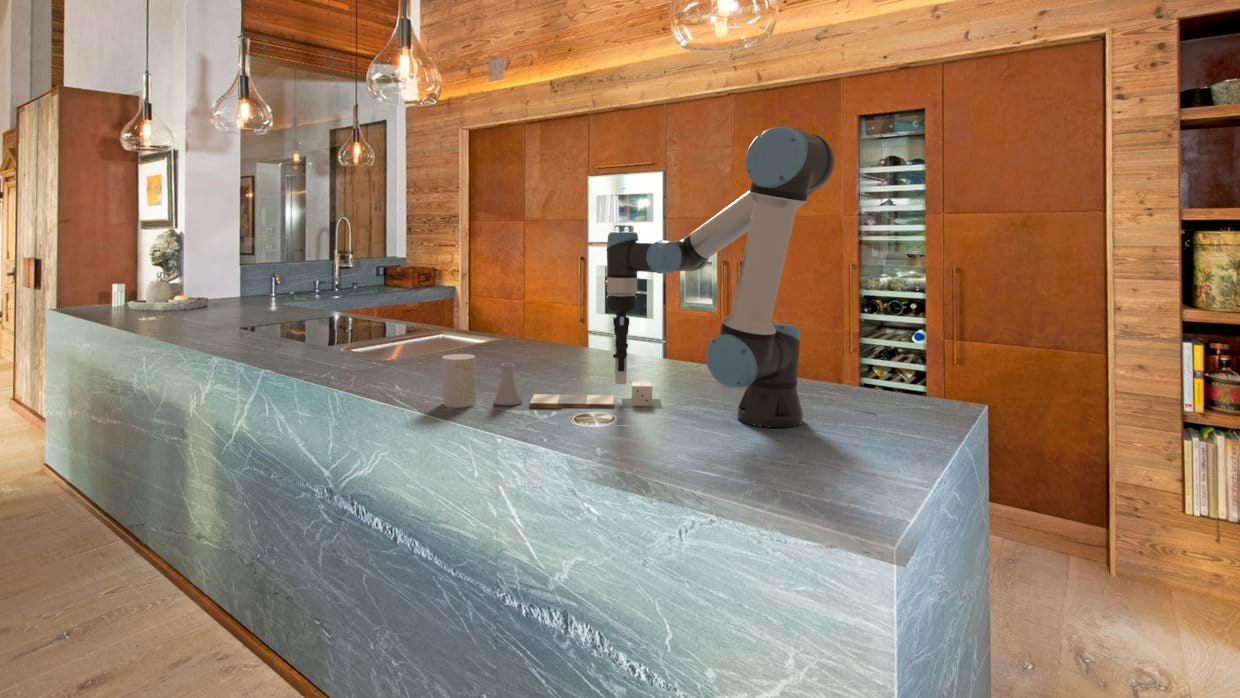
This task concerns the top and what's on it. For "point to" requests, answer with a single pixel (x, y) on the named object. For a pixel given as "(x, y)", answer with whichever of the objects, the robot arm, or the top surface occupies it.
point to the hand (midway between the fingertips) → (620, 378)
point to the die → (641, 394)
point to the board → (571, 401)
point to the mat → (628, 404)
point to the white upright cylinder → (459, 380)
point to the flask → (507, 388)
